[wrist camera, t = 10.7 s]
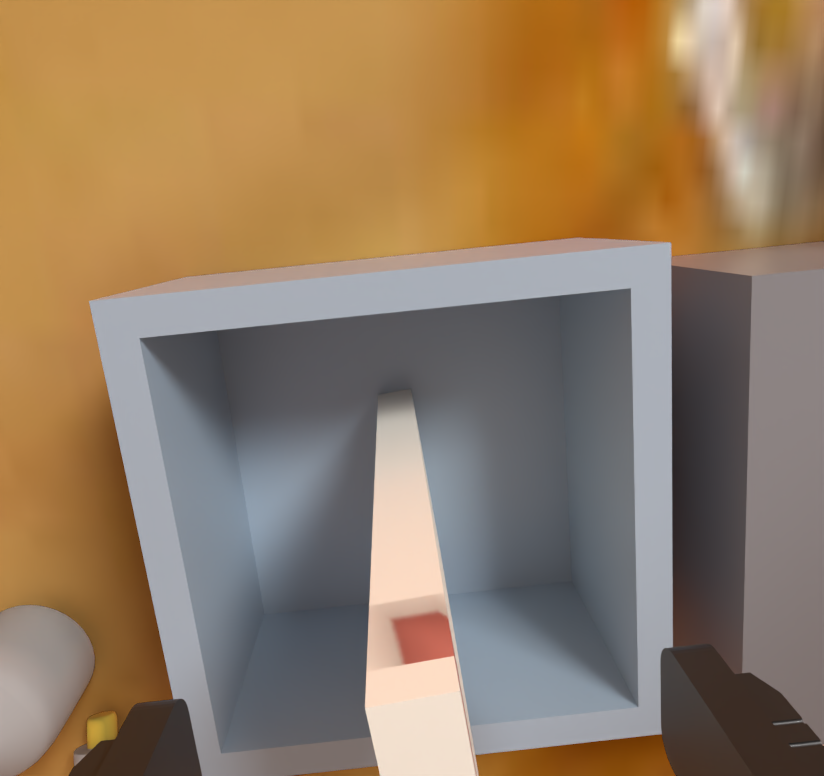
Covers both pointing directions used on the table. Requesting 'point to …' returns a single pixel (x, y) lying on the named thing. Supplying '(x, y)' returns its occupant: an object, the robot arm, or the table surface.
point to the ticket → (411, 616)
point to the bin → (447, 478)
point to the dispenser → (751, 464)
